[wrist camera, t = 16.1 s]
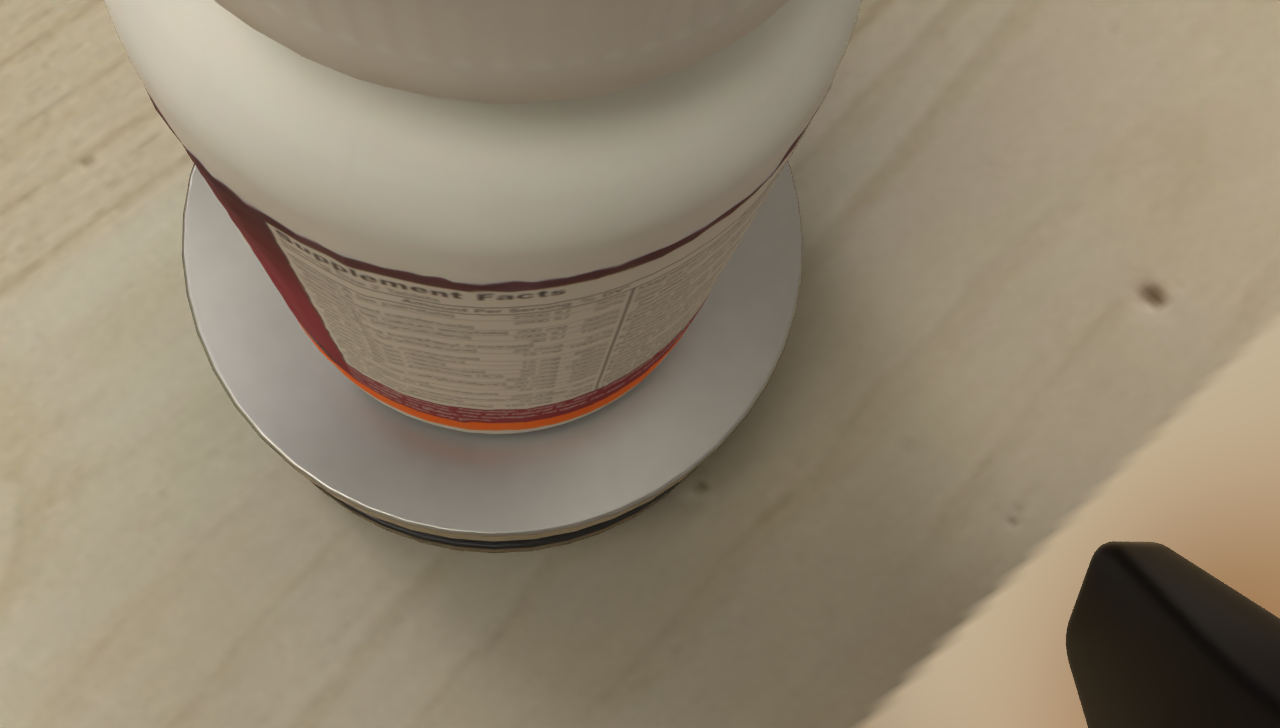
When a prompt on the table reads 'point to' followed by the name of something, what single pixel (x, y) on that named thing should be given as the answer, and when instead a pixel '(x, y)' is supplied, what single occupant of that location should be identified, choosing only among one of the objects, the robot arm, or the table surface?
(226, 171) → the pill bottle
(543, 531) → the stand
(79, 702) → the table surface
